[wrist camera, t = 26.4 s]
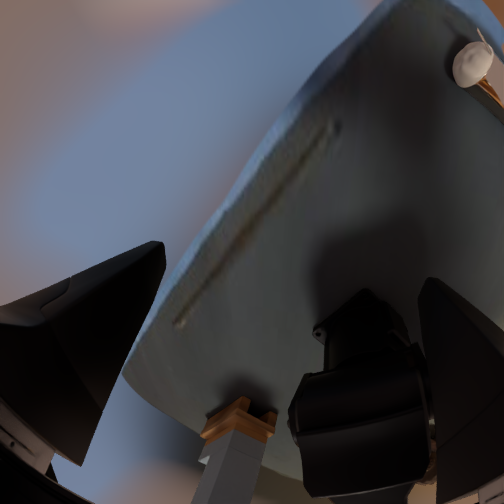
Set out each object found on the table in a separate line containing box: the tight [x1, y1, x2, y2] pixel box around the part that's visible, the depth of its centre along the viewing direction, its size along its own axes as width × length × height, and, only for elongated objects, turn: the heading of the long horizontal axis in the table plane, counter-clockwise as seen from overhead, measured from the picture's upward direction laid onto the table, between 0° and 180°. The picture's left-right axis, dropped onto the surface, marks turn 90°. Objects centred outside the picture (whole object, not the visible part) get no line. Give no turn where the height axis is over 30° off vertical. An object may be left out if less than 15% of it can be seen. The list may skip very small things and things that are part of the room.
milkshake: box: [452, 28, 504, 125], centre depth 12 cm, size 5×5×10 cm
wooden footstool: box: [200, 396, 278, 440], centre depth 32 cm, size 9×5×3 cm, turn 145°
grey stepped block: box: [191, 422, 267, 504], centre depth 25 cm, size 8×4×12 cm, turn 147°
